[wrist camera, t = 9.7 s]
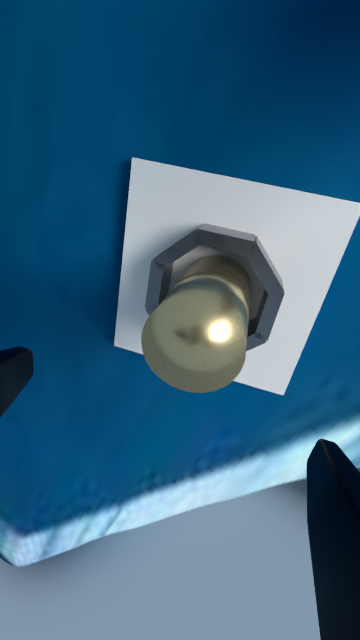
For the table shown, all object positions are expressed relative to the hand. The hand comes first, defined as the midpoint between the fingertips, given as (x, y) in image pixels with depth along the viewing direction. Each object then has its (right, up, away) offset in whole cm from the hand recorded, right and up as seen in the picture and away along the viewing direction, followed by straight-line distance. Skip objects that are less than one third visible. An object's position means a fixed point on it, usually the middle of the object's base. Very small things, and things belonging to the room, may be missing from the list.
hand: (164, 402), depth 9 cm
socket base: (+3, +5, +12) cm, 13 cm away
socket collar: (+3, +5, +10) cm, 12 cm away
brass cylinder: (+3, +5, +11) cm, 12 cm away
